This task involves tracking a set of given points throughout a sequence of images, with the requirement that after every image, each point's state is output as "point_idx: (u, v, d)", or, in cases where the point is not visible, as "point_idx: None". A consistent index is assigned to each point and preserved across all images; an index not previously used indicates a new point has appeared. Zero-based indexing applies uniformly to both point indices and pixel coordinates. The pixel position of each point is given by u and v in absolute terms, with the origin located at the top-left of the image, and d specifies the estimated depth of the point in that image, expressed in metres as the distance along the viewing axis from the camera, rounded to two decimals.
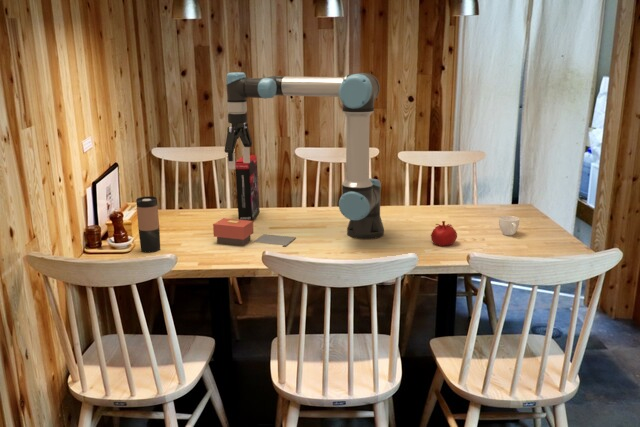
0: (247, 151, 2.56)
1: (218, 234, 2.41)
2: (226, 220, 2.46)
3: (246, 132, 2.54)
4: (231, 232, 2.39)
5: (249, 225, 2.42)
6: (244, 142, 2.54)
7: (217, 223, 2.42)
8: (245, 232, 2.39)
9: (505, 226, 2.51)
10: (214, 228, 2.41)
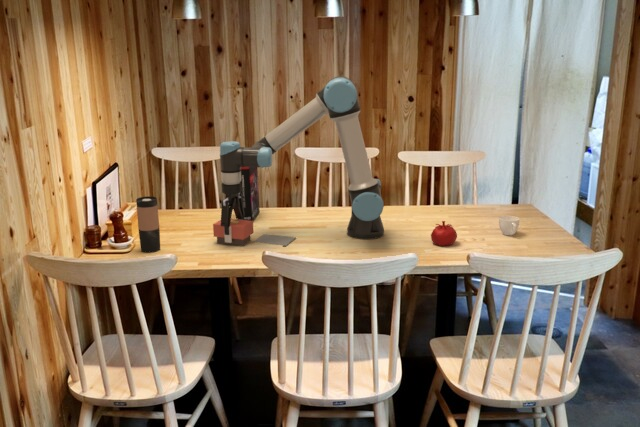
0: None
1: (218, 234, 2.41)
2: None
3: (240, 202, 2.46)
4: None
5: (249, 225, 2.42)
6: (237, 213, 2.46)
7: (217, 223, 2.42)
8: (245, 232, 2.39)
9: (505, 226, 2.51)
10: (214, 228, 2.41)
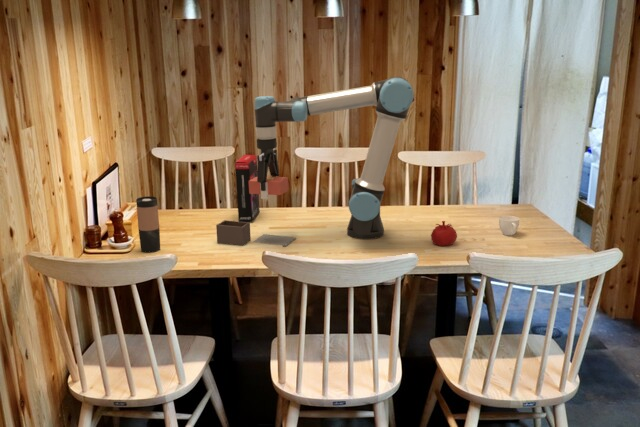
0: None
1: (253, 190, 2.39)
2: None
3: (274, 159, 2.44)
4: None
5: (285, 181, 2.40)
6: (272, 170, 2.44)
7: (252, 180, 2.39)
8: (281, 188, 2.37)
9: (505, 226, 2.51)
10: (250, 185, 2.39)
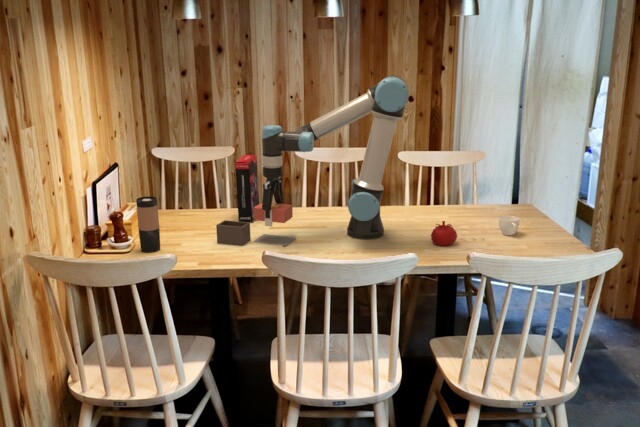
0: None
1: (258, 217, 2.42)
2: None
3: (279, 186, 2.47)
4: None
5: (289, 209, 2.43)
6: (276, 197, 2.47)
7: (257, 207, 2.43)
8: (285, 216, 2.40)
9: (505, 226, 2.51)
10: (254, 211, 2.42)
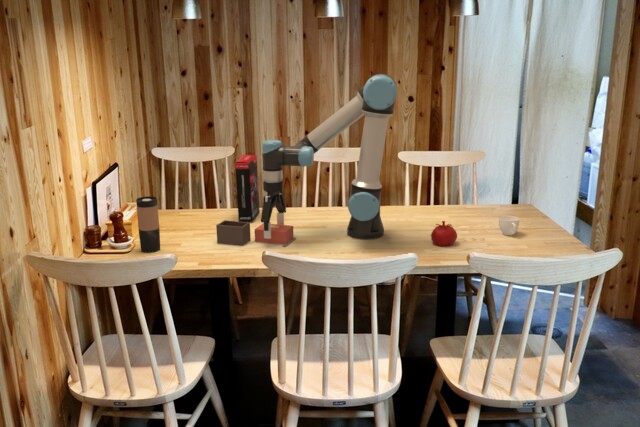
0: (281, 217, 2.51)
1: (259, 238, 2.44)
2: None
3: (281, 198, 2.49)
4: (273, 237, 2.42)
5: (290, 230, 2.45)
6: (278, 208, 2.50)
7: (258, 228, 2.45)
8: (286, 237, 2.42)
9: (505, 226, 2.51)
10: (256, 233, 2.44)
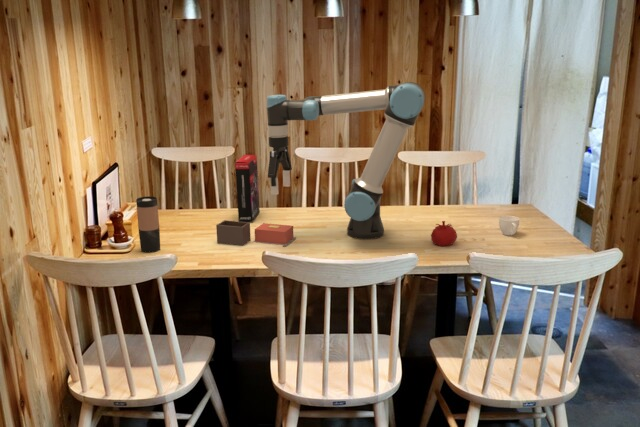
0: (287, 174, 2.49)
1: (259, 238, 2.44)
2: (267, 225, 2.49)
3: (286, 155, 2.47)
4: (273, 237, 2.42)
5: (290, 230, 2.45)
6: (284, 165, 2.47)
7: (258, 228, 2.45)
8: (286, 237, 2.42)
9: (505, 226, 2.51)
10: (256, 233, 2.44)
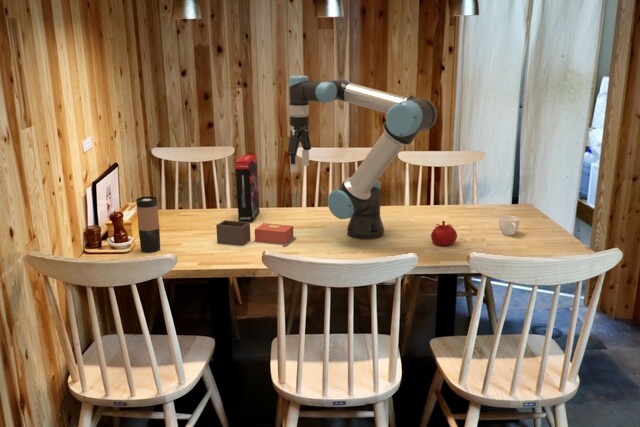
0: (306, 154, 2.56)
1: (259, 238, 2.44)
2: (267, 225, 2.49)
3: (306, 135, 2.54)
4: (273, 237, 2.42)
5: (290, 230, 2.45)
6: (304, 145, 2.54)
7: (258, 228, 2.45)
8: (286, 237, 2.42)
9: (505, 226, 2.51)
10: (256, 233, 2.44)
